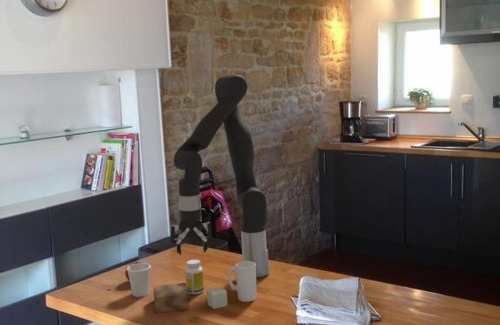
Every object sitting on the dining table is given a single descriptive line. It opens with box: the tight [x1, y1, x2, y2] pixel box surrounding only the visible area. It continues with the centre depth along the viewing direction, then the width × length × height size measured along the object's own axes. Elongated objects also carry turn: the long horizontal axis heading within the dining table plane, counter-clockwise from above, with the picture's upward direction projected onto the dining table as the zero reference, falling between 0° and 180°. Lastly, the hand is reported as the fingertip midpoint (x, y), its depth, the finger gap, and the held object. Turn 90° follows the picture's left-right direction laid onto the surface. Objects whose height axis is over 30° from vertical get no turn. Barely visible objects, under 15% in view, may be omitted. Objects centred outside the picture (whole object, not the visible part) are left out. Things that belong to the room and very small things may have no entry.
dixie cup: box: [126, 262, 152, 298], centre depth 200 cm, size 8×8×10 cm
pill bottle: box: [184, 259, 205, 295], centre depth 199 cm, size 6×6×11 cm
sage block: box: [206, 286, 228, 310], centre depth 187 cm, size 5×5×5 cm
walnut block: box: [152, 282, 190, 314], centre depth 189 cm, size 11×11×5 cm
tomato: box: [124, 261, 143, 282], centre depth 212 cm, size 9×9×8 cm
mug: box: [227, 260, 257, 303], centre depth 191 cm, size 10×7×12 cm, turn 71°
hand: (192, 252), depth 198 cm, fingers open, 8 cm apart
